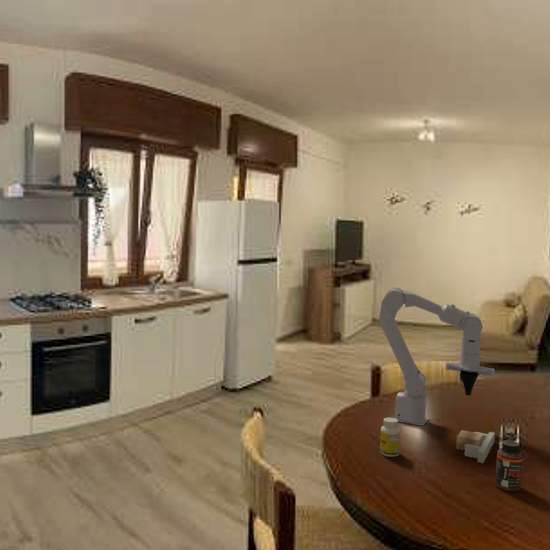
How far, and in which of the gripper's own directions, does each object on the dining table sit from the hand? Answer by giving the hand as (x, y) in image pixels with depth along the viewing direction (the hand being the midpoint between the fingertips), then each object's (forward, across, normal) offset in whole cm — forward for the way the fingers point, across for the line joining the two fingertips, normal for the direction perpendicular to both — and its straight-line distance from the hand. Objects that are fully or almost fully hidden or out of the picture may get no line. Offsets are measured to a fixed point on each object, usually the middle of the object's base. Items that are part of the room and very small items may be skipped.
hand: (468, 394), depth 190 cm
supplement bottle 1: (+11, -14, -35) cm, 39 cm away
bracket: (+10, +7, -19) cm, 23 cm away
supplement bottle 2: (+11, +18, -40) cm, 45 cm away
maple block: (+11, +4, -18) cm, 22 cm away
